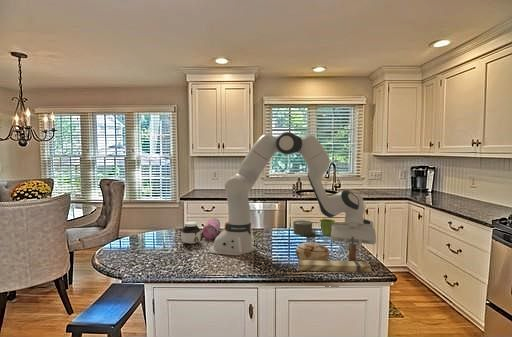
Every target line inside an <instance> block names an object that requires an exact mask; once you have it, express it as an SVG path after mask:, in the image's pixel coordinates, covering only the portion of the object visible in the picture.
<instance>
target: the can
mask: <svg viewBox="0 0 512 337" xmlns="http://www.w3.org/2000/svg"><path fill="white" fill-rule="evenodd" d="M292 224H293V234H294V235H297V236H310V235H311V236H312V234H313V222H312V221H310V220H300V219H299V220H295V221H293V223H292Z"/></svg>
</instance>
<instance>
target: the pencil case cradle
mask: <svg viewBox="0 0 512 337" xmlns="http://www.w3.org/2000/svg"><path fill="white" fill-rule="evenodd" d="M224 230H225V226H224V227H223V229H222V230H221V231H220V232H219V234H221V233H222V232H223V231H224ZM203 237H204V236H203V229H202V230H200V240H201V239H202V238H203Z"/></svg>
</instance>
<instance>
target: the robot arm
mask: <svg viewBox="0 0 512 337" xmlns="http://www.w3.org/2000/svg"><path fill="white" fill-rule="evenodd" d="M278 152H279V153H281V154H283V155H292V154H295V153H299V155H301V157H302V158H303V160H304V162H305V164H306V166H307V169H308V172H307V178H308V181H309V183H310V186H311V188H312V190H313V193H314V195H315V197H316V200H317V202H318V206H319V210H320V212H321V213H322V215H324V216H325V217H327V218H330V219H331V218H334V217H336V216H337V215H339V214H342V213H345V216H344V222H335V223H334V224H332V227H331V229H332V232H331V235H330V239H331V240H332V241H333V242H343V244H344V246H345V250H346V251H349V244H348V243H351V239H352V237H354V243H355V244H357V245H356V252H360V248H361V247H362V246H363V244H365V245H375V244H377V234H376V230H375V227H374V222H373V221H372V220H369V219H366V218H364V214H365V203H364V198H363V196H362V195H360V194H359V193H353V192H351V191H349V190H347V189H344V190H341V191H339V192H336V193H335V194H333V195H327V192H326V189H325V188H324V185H323V183H322V182H323V181H322V179H323V175H324V174H325V173H326V172H327V171H328V168H329V167H330V164H331V160H330V156H329V155H328V152H327V151H326V149H325V148H324V147H323V145H322V144H321V143H320V141H319V140H318V139H317V138H316V137H315V136H314V135H313V134H307V135H303V136H302V137H300V136H298V135H297V134H295V133H293V132H290V131H284V132H282V133H280V134H279V135H278V136H274V135H272V134H270V133H264V134H262V135H261V136H260V137H259V138H258V139H257V141H255V142H254V144H253V145H252V146H251V148H250V150H249V151H248V153H247V154H246V156H245V157H244V158H243V160H242V163H241V164H240V166H239V168H238V170H237V171H236V173H235V175H232V176H230V177H229V178H227V180H226V182H225V184H224V191H225V194H226V200H227V207H228V221H226V222H225V223H224V227H225V230H224V231H223V232H222V233H221V232H220V233H221V234H220V233H218V234H217V236H216V237H215V238H214V241H213V245H211V246H210V247H209V250H208V252H209V253H210V254H216V255H217V254H219V255H229V256H230V255H231V256H240V255H245V254H249V253H251V252H253V251H254V246H253V243H252V236H251V234H252V222H251V207H250V202H249V201H250V200H249V193H250V191H251V190H252V188H253V187H254V185H255V183H256V182H257V180H258V178H260V175H261V173H262V172H263V170H264V169H265V168H266V166H267V165H268V163H269V162H270V160H271V159H272V157H273V156H274V155H275V154H276V153H278Z"/></svg>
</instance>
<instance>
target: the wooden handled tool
mask: <svg viewBox="0 0 512 337" xmlns="http://www.w3.org/2000/svg"><path fill="white" fill-rule="evenodd" d="M349 243H350V244H348V245H349V250H348V261H357V260H356V259H357V251H356V246H357V245H356V243H354V237H352V239H351V242H349Z"/></svg>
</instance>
